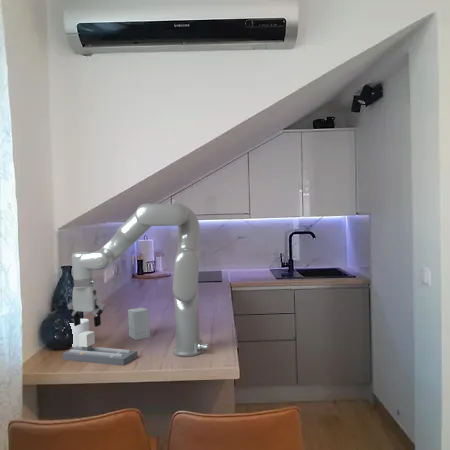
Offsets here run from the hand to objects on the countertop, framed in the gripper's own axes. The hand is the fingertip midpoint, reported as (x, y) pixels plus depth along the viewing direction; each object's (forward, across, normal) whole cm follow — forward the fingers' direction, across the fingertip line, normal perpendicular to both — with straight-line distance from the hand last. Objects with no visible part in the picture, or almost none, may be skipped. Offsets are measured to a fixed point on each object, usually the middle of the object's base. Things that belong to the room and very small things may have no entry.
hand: (87, 325), depth 190 cm
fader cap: (+10, +1, 0) cm, 10 cm away
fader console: (+13, -5, 0) cm, 14 cm away
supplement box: (+14, -5, -30) cm, 33 cm away
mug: (+13, +16, -12) cm, 23 cm away
